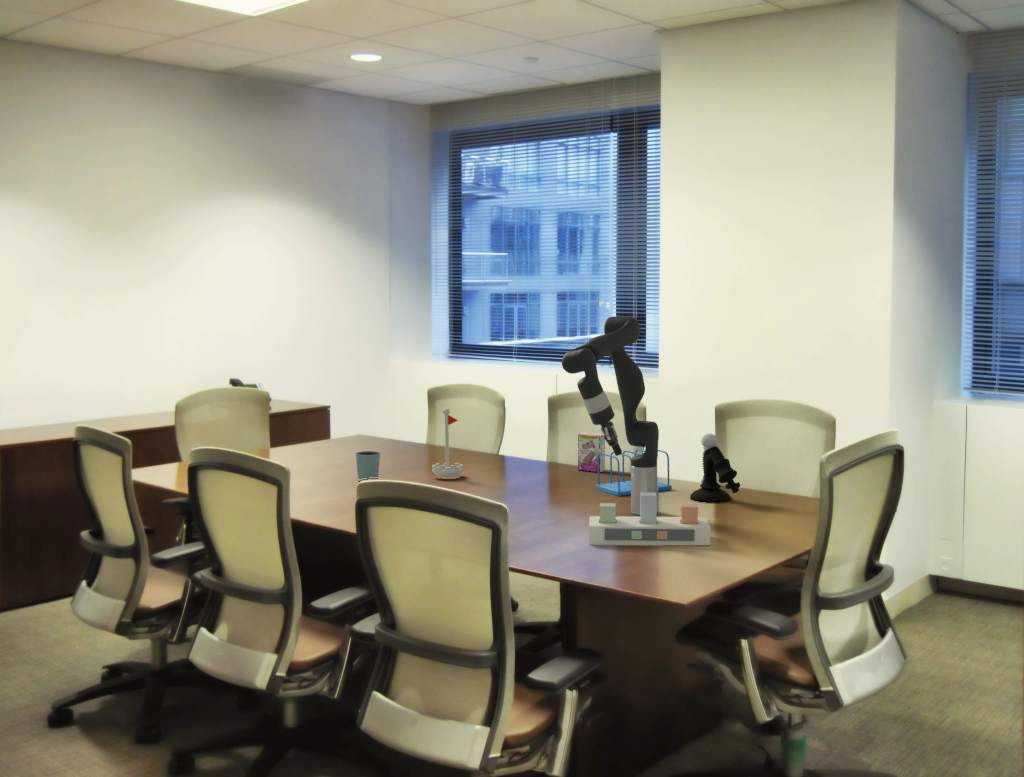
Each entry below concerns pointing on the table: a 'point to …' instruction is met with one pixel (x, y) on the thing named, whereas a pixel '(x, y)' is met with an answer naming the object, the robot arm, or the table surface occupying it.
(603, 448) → the candy bar box
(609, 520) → the key sage
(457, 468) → the flag stand
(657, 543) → the white flat bar
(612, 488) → the file sorter
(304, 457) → the table surface
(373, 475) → the teal tapered cup
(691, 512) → the key terracotta
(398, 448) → the table surface
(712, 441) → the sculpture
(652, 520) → the key grey
